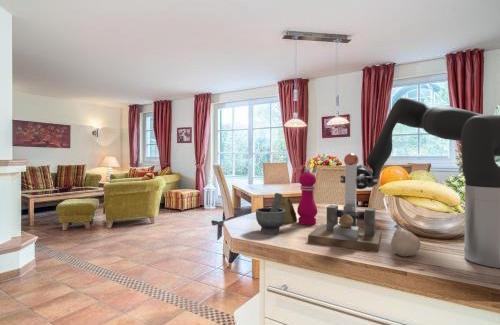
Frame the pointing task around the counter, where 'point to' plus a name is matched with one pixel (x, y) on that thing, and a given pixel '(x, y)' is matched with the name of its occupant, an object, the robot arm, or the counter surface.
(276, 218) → the mortar and pestle
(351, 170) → the lever
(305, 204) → the pepper mill
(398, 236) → the garlic bulb
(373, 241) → the cracker base
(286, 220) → the rock
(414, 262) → the counter surface
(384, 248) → the counter surface
